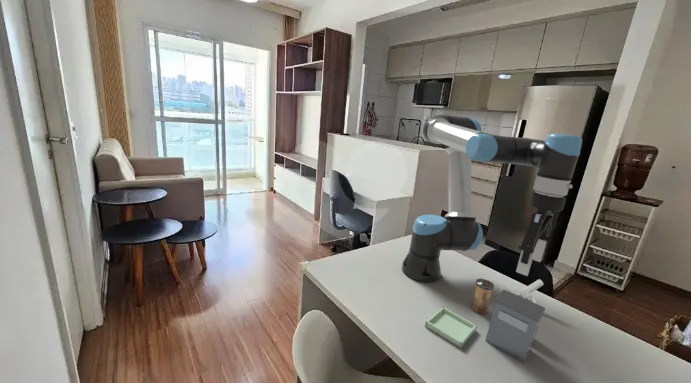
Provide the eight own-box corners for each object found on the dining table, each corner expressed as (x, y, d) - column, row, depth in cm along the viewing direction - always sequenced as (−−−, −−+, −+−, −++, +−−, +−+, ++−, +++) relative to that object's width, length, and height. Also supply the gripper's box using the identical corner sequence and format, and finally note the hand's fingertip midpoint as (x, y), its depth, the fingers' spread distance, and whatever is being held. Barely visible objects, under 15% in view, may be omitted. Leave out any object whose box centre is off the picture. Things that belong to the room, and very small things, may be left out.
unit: (483, 340, 85) (495, 299, 81) (492, 328, 90) (503, 289, 86) (524, 364, 78) (539, 320, 74) (531, 349, 83) (545, 307, 79)
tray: (424, 326, 88) (425, 321, 87) (441, 311, 95) (442, 306, 95) (460, 348, 80) (461, 343, 80) (475, 330, 88) (477, 325, 88)
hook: (560, 299, 100) (550, 290, 98) (529, 318, 104) (519, 310, 101) (545, 283, 107) (535, 274, 104) (517, 301, 111) (507, 293, 108)
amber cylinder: (467, 308, 99) (473, 282, 96) (473, 302, 102) (479, 276, 100) (483, 316, 95) (490, 290, 92) (489, 310, 99) (496, 284, 96)
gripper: (555, 203, 66) (532, 287, 71) (574, 192, 84) (554, 260, 89) (519, 195, 71) (499, 273, 76) (544, 186, 89) (526, 250, 94)
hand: (528, 266), depth 83 cm, fingers open, 13 cm apart
